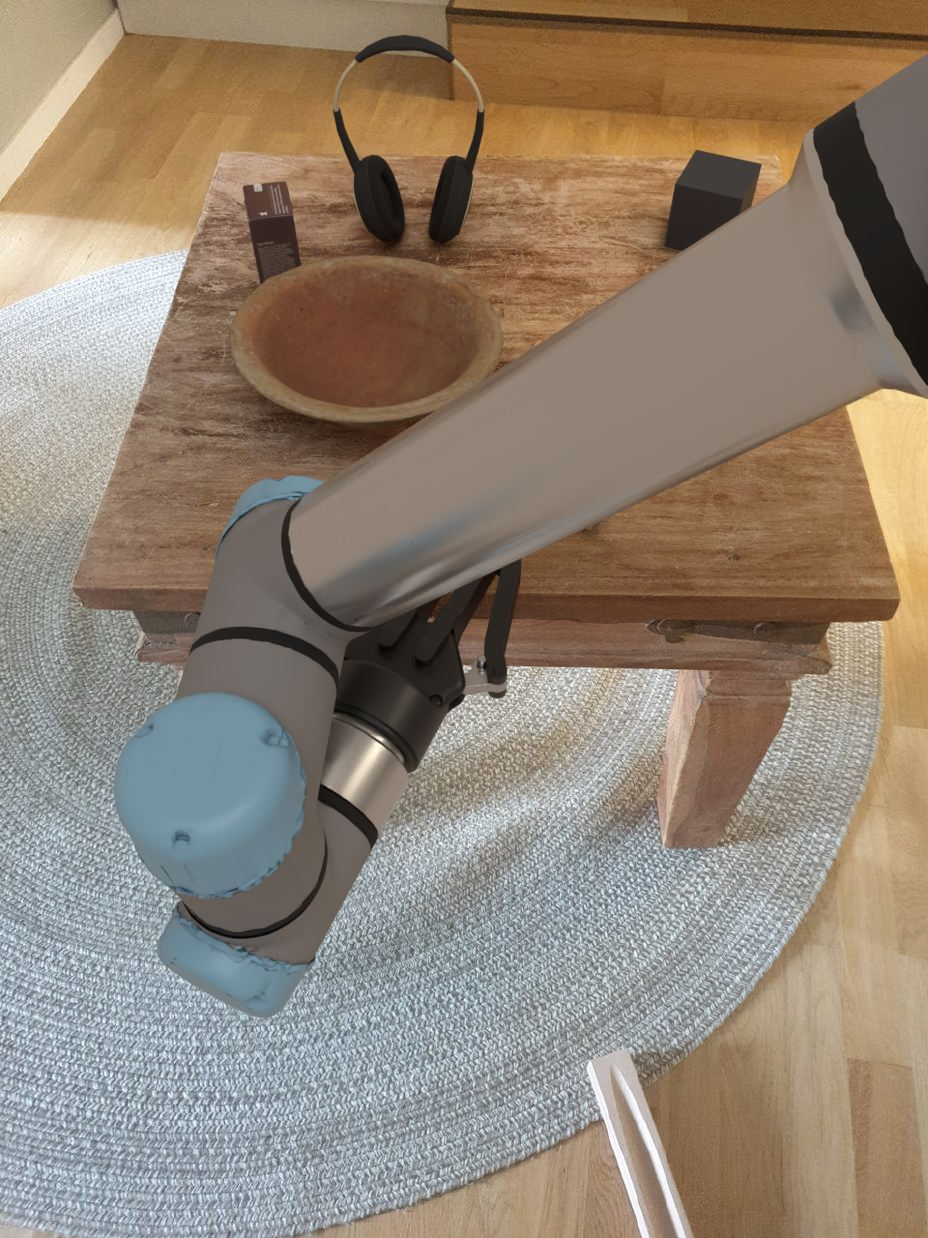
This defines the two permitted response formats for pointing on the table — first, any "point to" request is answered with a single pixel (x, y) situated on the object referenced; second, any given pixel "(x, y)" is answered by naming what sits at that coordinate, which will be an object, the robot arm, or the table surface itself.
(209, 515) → the table surface
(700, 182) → the block
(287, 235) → the box
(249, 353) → the bowl
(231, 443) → the table surface
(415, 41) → the headphones
